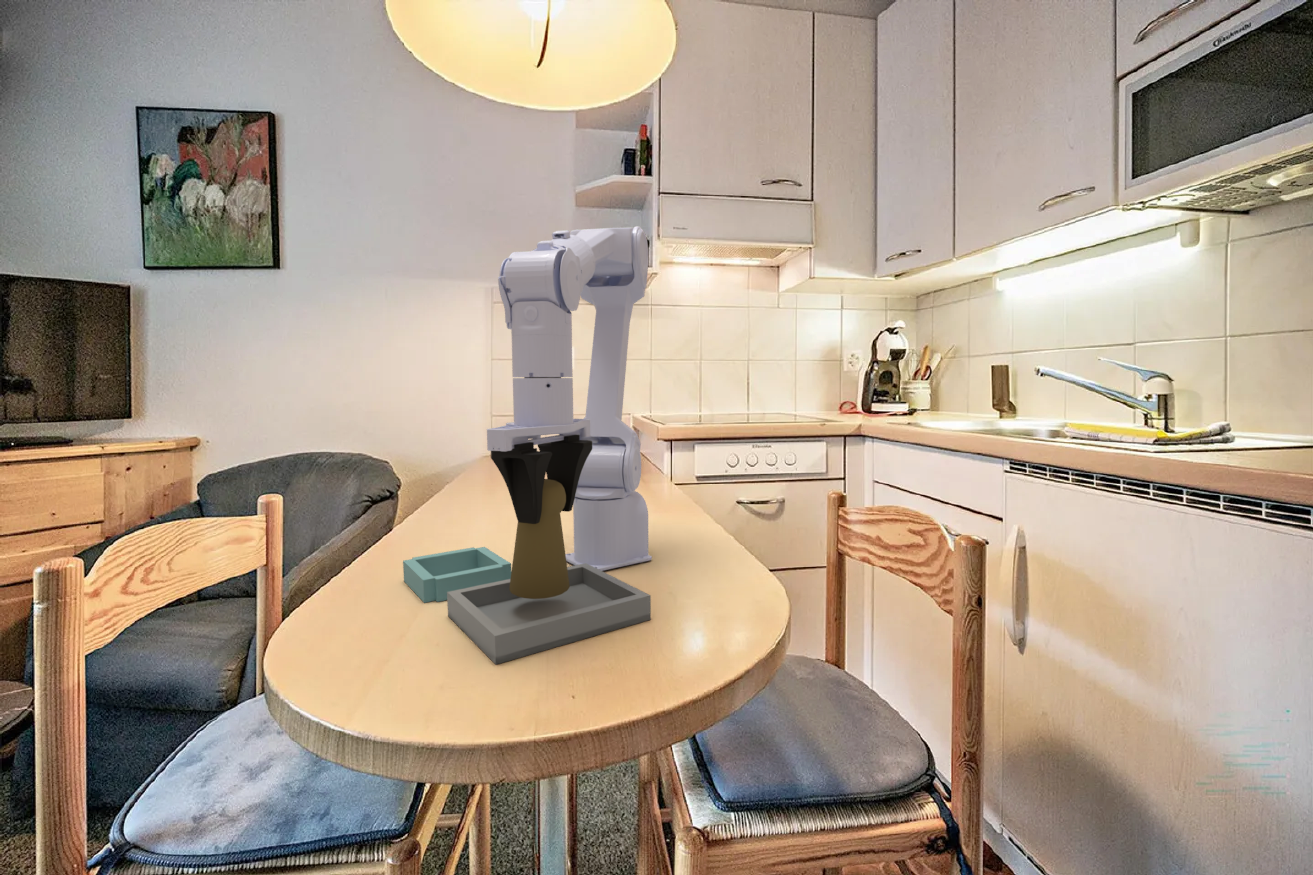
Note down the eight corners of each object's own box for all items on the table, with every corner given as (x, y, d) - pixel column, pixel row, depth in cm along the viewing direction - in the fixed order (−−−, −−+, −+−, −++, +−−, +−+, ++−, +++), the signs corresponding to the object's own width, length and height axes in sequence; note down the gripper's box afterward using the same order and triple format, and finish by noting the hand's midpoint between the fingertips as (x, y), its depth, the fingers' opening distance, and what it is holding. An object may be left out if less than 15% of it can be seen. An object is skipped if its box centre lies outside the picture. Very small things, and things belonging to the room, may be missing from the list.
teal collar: (483, 564, 78) (482, 545, 78) (513, 585, 70) (513, 564, 70) (402, 579, 72) (401, 559, 72) (425, 604, 64) (424, 581, 64)
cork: (575, 594, 59) (576, 485, 58) (513, 602, 57) (512, 489, 55) (563, 572, 65) (563, 472, 63) (505, 578, 63) (504, 475, 61)
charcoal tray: (586, 583, 70) (585, 563, 70) (650, 619, 60) (650, 595, 60) (447, 615, 61) (447, 591, 61) (495, 664, 51) (494, 635, 50)
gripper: (550, 378, 66) (553, 499, 68) (457, 378, 53) (462, 528, 55) (606, 377, 64) (608, 504, 65) (523, 378, 50) (527, 536, 52)
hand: (545, 516), depth 60 cm, fingers closed on cork, 5 cm apart
